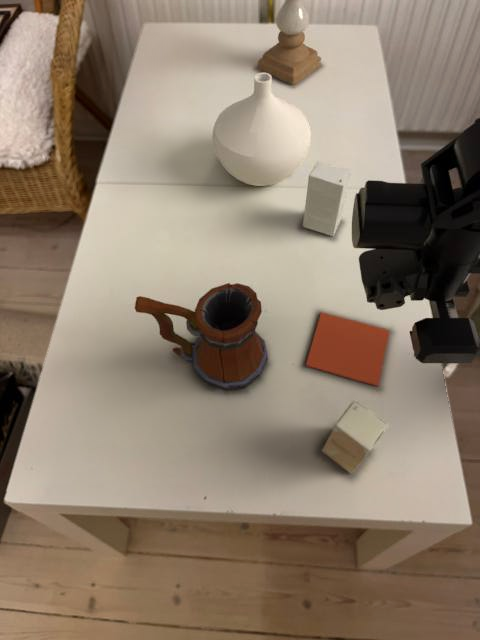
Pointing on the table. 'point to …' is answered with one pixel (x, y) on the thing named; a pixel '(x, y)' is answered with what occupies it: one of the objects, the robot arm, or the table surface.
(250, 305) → the mug
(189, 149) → the table surface
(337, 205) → the cosmetic box
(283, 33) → the candle holder
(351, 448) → the box
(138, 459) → the table surface
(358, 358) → the mat
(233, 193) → the table surface
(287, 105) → the vase
